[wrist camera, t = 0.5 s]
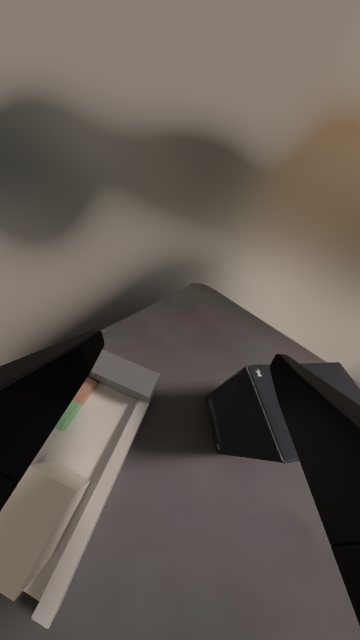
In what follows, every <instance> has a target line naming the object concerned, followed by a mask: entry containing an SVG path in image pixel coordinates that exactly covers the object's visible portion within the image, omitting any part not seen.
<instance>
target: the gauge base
mask: <svg viewBox="0 0 360 640" xmlns="http://www.w3.org/2000/svg"><path fill="white" fill-rule="evenodd" d="M88 376H89V377H90V378H91V379H90V378H88V377H87V379H86V380H85V382H84V383H83V385H82V386H81V388H80V389H79V391H78V392H77V394H76V396H75V397H74V399H73V400H72V402H71V403H70V405H69V406H68V408H67V409H66V411H65V412H64V414H63V416H62V417H61V419H60V420H59V422H58V423H57V425H56V426H55V428H54V429H53V431H52V432H51V434H50V436H49V437H48V439H47V440H46V442H45V443H44V445H43V446H42V448H41V449H40V451H39V453H38V454H37V456H36V457H35V459H34V460H33V462H32V463H31V464H34V463H40V462H47V461H54V462H56V463H58V464H60V465H62V466H64V467H66V468H68V469H70V470H72V471H74V472H75V473H77V474H79V475H81V476H83V477H85V478H87V479H89V480H91V481H90V483H89V485H88V487H87V489H86V491H85V493H84V495H83V497H82V499H81V501H80V503H79V504H78V506H77V508H76V510H75V512H74V514H73V516H72V518H71V520H70V522H69V524H68V526H67V528H66V529H65V531H64V533H63V535H62V537H61V539H60V541H59V543H58V545H57V547H56V549H55V551H54V553H53V554H52V556H51V558H50V559H49V561H48V562H47V563H46V564H45V565H44V566H43V568H42V569H41V570H40V571H39V572H38V574H37V575H36V576H35V577H34V578H33V579H32V581H31V582H30V583H29V584H28V585H27V587H26V588H25V589H24V590H23V591H24V592H25V593H27V594H29V595H30V596H32V597H33V598H35V599H37V600H38V601H39V603H38V605H37V607H36V609H35V611H34V613H33V615H32V617H31V619H32V620H34V621H36V622H37V623H39V624H40V625H42V626H43V627H45V628H46V629H49V627H50V625H51V623H52V621H53V619H54V618H55V616H56V614H57V612H58V610H59V608H60V606H61V603H62V601H63V599H64V597H65V594H66V592H67V590H68V588H69V585H70V583H71V581H72V579H73V576H74V574H75V572H76V569H77V567H78V565H79V563H80V560H81V558H82V556H83V554H84V551H85V549H86V547H87V545H88V542H89V540H90V538H91V535H92V533H93V531H94V529H95V526H96V524H97V522H98V520H99V517H100V515H101V513H102V511H103V508H104V506H105V504H106V501H107V499H108V497H109V495H110V492H111V490H112V488H113V486H114V483H115V481H116V479H117V477H118V474H119V472H120V470H121V467H122V465H123V463H124V461H125V458H126V456H127V454H128V452H129V449H130V447H131V445H132V443H133V440H134V438H135V436H136V433H137V431H138V429H139V427H140V424H141V422H142V420H143V418H144V415H145V413H146V411H147V409H148V406H149V404H150V402H151V399H152V397H153V395H154V393H155V390H156V388H157V386H158V382H159V377H160V374H158V373H156V372H154V371H151V370H149V369H147V368H145V367H142V366H140V365H138V364H135V363H133V362H131V361H128V360H126V359H124V358H121V357H119V356H117V355H114V354H112V353H110V352H107V351H105V350H103V349H102V351H101V353H100V355H99V357H98V359H97V361H96V363H95V365H94V367H93V369H92V370H91V372H90V374H89V375H88ZM97 382H98V383H99V384H98V383H97Z"/></svg>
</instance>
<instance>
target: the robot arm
mask: <svg viewBox="0 0 360 640" xmlns="http://www.w3.org/2000/svg"><path fill="white" fill-rule="evenodd" d="M103 347H104V339H103V335H102V332H101V331H100V330H90V331H88V332H85V333H83V334H80V335H78V336H75V337H73V338H70V339H68V340H65V341H63V342H60V343H58V344H55V345H53V346H50V347H48V348H45V349H43V350H40V351H37V352H35V353H33V354H30V355H27V356H25V357H22V358H20V359H17V360H15V361H12V362H10V363H8V364H5V365H2V366H0V511H1V510H2V508H3V507H4V505H5V504H6V502H7V501H8V499H9V497H10V496H11V494H12V493H13V491H14V490H15V488H16V487H17V485H18V483H19V482H20V480H21V479H22V477H23V476H24V474H25V473H26V471H27V469H28V468H29V466H30V465H31V463H32V462H33V460H34V459H35V457H36V456H37V454H38V453H39V451H40V449H41V448H42V446H43V445H44V443H45V442H46V440H47V439H48V437H49V436H50V434H51V432H52V431H53V429H54V428H55V426H56V425H57V423H58V422H59V420H60V419H61V417H62V416H63V414H64V412H65V411H66V409H67V408H68V406H69V405H70V403H71V402H72V400H73V399H74V397H75V396H76V394H77V392H78V391H79V389H80V388H81V386H82V385H83V383H84V382H85V380H86V379H87V377H88V375H89V374H90V372H91V370H92V369H93V367H94V365H95V363H96V361H97V359H98V357H99V355H100V353H101V351H102V349H103ZM270 373H271V377H272V381H273V385H274V389H275V393H276V396H277V400H278V403H279V406H280V408H281V411H282V414H283V417H284V419H285V422H286V425H287V428H288V430H289V433H290V436H291V438H292V441H293V444H294V447H295V449H296V452H297V455H298V458H299V460H300V463H301V466H302V469H303V471H304V474H305V477H306V479H307V482H308V485H309V488H310V490H311V493H312V496H313V499H314V501H315V504H316V507H317V510H318V512H319V515H320V518H321V520H322V523H323V526H324V529H325V531H326V534H327V537H328V540H329V542H330V545H331V548H332V551H333V554H334V557H335V559H336V562H337V565H338V567H339V570H340V573H341V576H342V578H343V581H344V584H345V587H346V589H347V592H348V595H349V597H350V600H351V603H352V606H353V608H354V611H355V614H356V617H357V619H358V622H359V625H360V405H359V404H357V403H356V402H354V401H353V400H351V399H350V398H348V397H347V396H346V395H344V394H343V393H341V392H340V391H338V390H337V389H335V388H334V387H333V386H331V385H330V384H328V383H327V382H325V381H324V380H322V379H321V378H319V377H318V376H317V375H315V374H314V373H312V372H311V371H309V370H308V369H306V368H305V367H304V366H302V365H301V364H299V363H298V362H296V361H295V360H293V359H292V358H290V357H289V356H287V355H284V354H277V355H276V356H275V357H274V359H273V361H272V363H271V364H270Z"/></svg>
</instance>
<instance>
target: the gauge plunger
mask: <svg viewBox="0 0 360 640" xmlns="http://www.w3.org/2000/svg"><path fill="white" fill-rule="evenodd" d="M90 481H91V480H89V479H87V478H85V477H83V476H81V475H79V474H77V473H75V472H74V471H72V470H70V469H68V468H66V467H64V466H62V465H60V464H58V463H56V462H54V461H47V462H40V463H34V464H31V465H30V466H29V468H28V469H27V471H26V473H25V474H24V476H23V477H22V479H21V480H20V482H19V483H18V485H17V487H16V488H15V490H14V491H13V493H12V494H11V496H10V497H9V499H8V501H7V502H6V504H5V505H4V507H3V508H2V510H1V511H0V593H1V594H3V595H4V596H6V597H8V598H9V599H11V600H12V601H15V600H16V598H17V597H18V596H19V595H20V594H21V592H22V591H23V590H24V589H25V588H26V587H27V585H28V584H29V583H30V582H31V581H32V579H33V578H34V577H35V576H36V575H37V574H38V572H39V571H40V570H41V569H42V568H43V566H44V565H45V564H46V563H47V562H48V561H49V559H50V558H51V556H52V554H53V553H54V551H55V549H56V547H57V545H58V543H59V541H60V539H61V537H62V535H63V533H64V531H65V529H66V528H67V526H68V524H69V522H70V520H71V518H72V516H73V514H74V512H75V510H76V508H77V506H78V504H79V503H80V501H81V499H82V497H83V495H84V493H85V491H86V489H87V487H88V485H89V483H90Z"/></svg>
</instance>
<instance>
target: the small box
mask: <svg viewBox="0 0 360 640" xmlns="http://www.w3.org/2000/svg"><path fill="white" fill-rule="evenodd" d="M299 364H301V365H302V366H304V367H305V368H306V369H308V370H309V371H311V372H312V373H314V374H315V375H317V376H318V377H319V378H321V379H322V380H324V381H325V382H327V383H328V384H330V385H331V386H333V387H334V388H335V389H337V390H338V391H340V392H341V393H343V394H344V395H346V396H347V397H348V398H350V399H351V400H353V401H354V402H356V403H357V404H359V405H360V389H359V387H358V386H357V385H356V384H355V382H354V381H353V380H352V378H351V377H350V376H349V374H348V373H347V372H346V371H345V369H344V368H343V367H342V365H341V364H340V363H338V362H337V363H299ZM206 398H207V399H206V400H207V403H208V408H209V412H210V417H211V422H212V427H213V435H214V439H215V443H216V447H217V452H218V453H219V454H224V455H231V456H239V457H246V458H253V459H260V460H268V461H275V462H281V463H290V462H295V461H300V460H299V458H298V455H297V452H296V449H295V447H294V444H293V441H292V438H291V436H290V433H289V430H288V428H287V425H286V422H285V419H284V417H283V414H282V411H281V408H280V406H279V403H278V400H277V396H276V393H275V389H274V385H273V381H272V377H271V373H270V364H259V365H246V366H245V367H244V368H242V369H241V370H240V371H238V372H237V373H236V374H235V375H233V376H232V377H230V378H229V379H228V380H227V381H225V382H224V383H223V384H222V385H220V386H219V387H218V388H216V389H215V390H213V391H212V392H210V393H209V394H207V396H206Z"/></svg>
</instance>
